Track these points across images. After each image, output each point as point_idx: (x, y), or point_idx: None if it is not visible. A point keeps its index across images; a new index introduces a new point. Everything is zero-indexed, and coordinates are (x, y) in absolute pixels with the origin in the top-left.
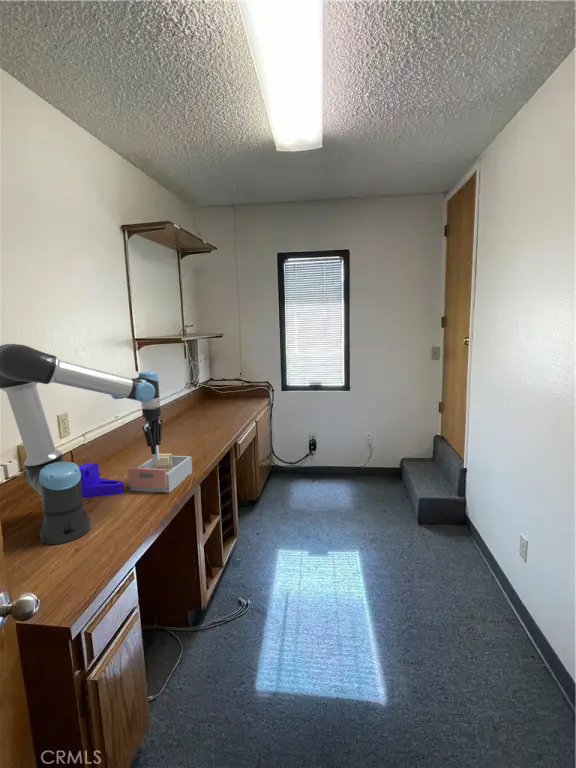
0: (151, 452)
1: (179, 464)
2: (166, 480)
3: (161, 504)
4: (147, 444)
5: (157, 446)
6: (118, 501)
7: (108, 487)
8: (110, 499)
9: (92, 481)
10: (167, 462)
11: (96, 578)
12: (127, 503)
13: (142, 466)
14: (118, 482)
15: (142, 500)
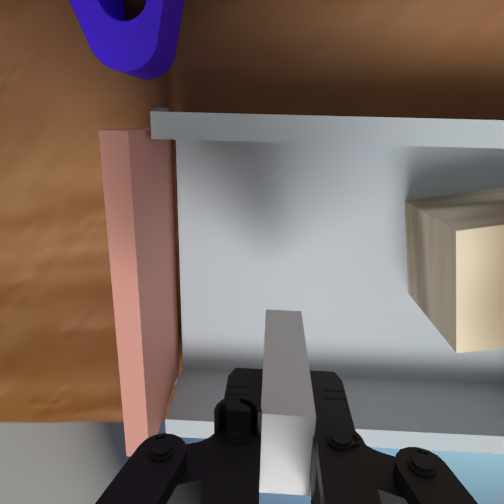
0: (227, 381)
1: (372, 436)
2: (168, 396)
3: (56, 376)
4: (122, 473)
5: (281, 487)
6: (26, 130)
7: None
8: (36, 55)
9: None
10: (438, 323)
11: None
12: (19, 201)
13: (334, 143)
14: (131, 26)
15: (73, 264)
